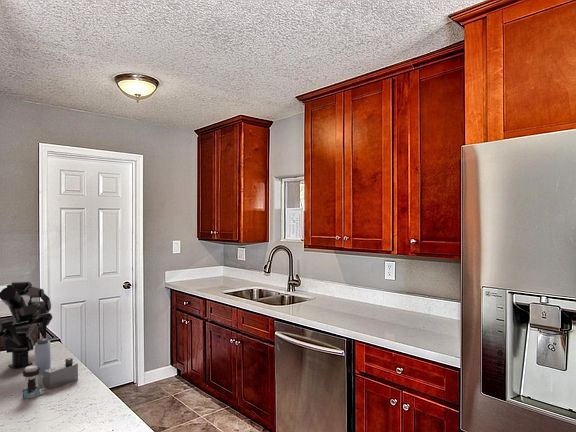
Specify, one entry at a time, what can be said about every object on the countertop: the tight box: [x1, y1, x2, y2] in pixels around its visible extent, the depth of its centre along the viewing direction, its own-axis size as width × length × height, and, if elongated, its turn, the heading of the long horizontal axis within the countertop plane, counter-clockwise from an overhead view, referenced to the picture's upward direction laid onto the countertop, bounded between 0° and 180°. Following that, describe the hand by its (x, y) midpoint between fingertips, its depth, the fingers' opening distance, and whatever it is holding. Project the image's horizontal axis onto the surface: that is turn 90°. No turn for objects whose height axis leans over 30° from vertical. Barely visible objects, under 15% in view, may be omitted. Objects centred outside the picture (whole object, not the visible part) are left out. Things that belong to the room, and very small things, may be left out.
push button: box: [21, 364, 46, 400], centre depth 144 cm, size 7×5×10 cm
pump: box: [34, 337, 52, 375], centre depth 162 cm, size 5×5×14 cm
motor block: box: [37, 357, 79, 390], centre depth 156 cm, size 9×10×8 cm
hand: (33, 341), depth 165 cm, fingers open, 9 cm apart
